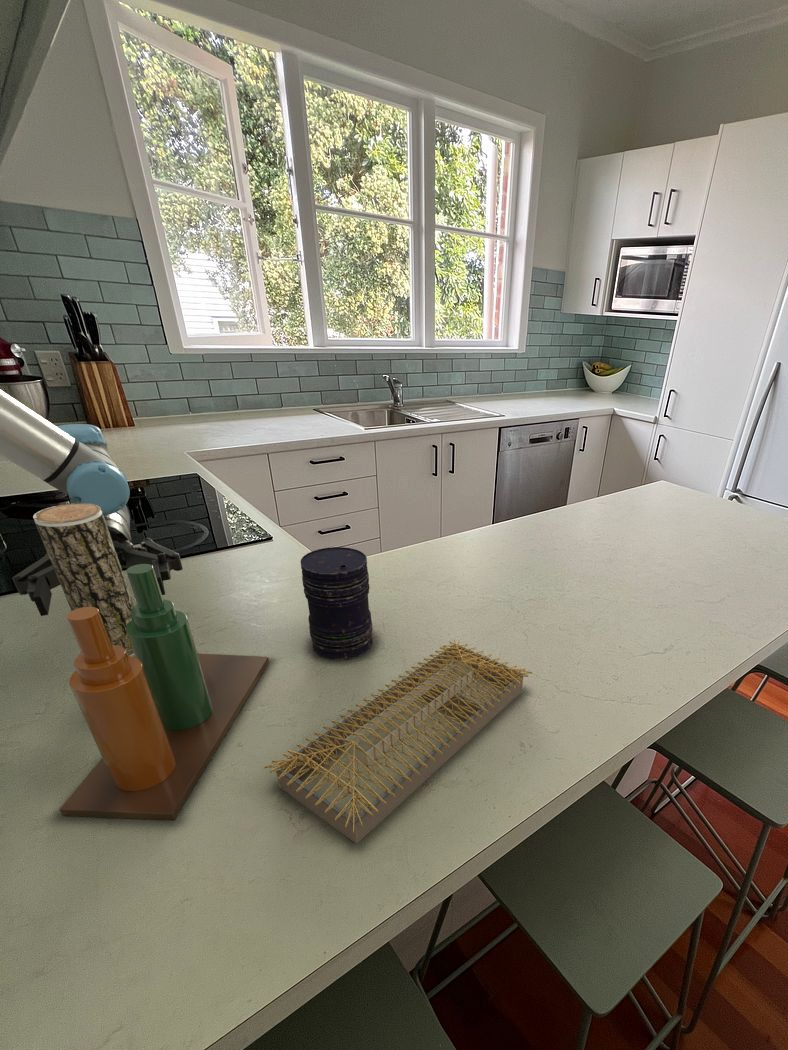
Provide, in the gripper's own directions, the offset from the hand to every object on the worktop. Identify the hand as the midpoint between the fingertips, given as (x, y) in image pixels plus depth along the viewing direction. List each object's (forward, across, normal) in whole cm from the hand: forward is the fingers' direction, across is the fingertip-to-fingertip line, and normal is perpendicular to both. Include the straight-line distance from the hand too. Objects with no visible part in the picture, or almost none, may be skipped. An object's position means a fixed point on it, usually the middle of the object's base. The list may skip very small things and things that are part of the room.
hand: (102, 596), depth 72 cm
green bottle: (+14, -6, -13) cm, 20 cm away
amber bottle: (+23, -1, -13) cm, 26 cm away
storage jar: (+5, -30, -13) cm, 33 cm away
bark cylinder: (+1, 0, -13) cm, 13 cm away
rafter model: (+30, -32, -13) cm, 46 cm away
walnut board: (+15, -6, -13) cm, 21 cm away
